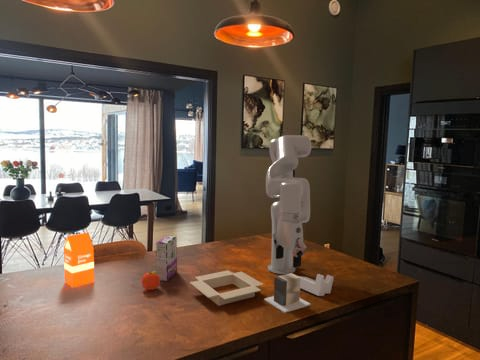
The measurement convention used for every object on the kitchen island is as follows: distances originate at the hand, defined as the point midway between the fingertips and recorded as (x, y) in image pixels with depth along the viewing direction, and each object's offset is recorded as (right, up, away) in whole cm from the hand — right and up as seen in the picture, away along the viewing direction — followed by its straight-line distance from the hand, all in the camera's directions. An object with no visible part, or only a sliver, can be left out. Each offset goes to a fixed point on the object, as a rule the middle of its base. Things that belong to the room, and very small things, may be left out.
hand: (288, 262), depth 135 cm
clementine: (-52, -13, +11) cm, 54 cm away
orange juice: (-82, -12, +16) cm, 85 cm away
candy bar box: (-49, -12, +25) cm, 56 cm away
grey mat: (0, -15, +1) cm, 15 cm away
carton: (-23, -14, +8) cm, 28 cm away
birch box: (0, -14, +1) cm, 14 cm away
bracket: (+12, -14, +14) cm, 23 cm away
